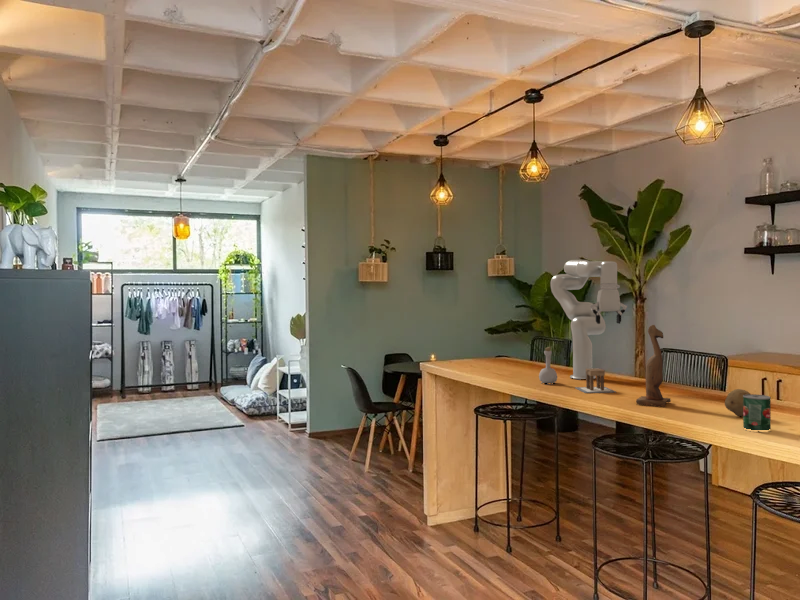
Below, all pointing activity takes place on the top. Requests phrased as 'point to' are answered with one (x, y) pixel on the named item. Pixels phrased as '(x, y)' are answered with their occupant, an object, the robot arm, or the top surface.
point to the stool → (590, 378)
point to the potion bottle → (548, 370)
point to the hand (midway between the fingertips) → (608, 323)
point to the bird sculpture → (654, 373)
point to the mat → (595, 390)
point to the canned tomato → (756, 412)
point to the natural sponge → (736, 401)
